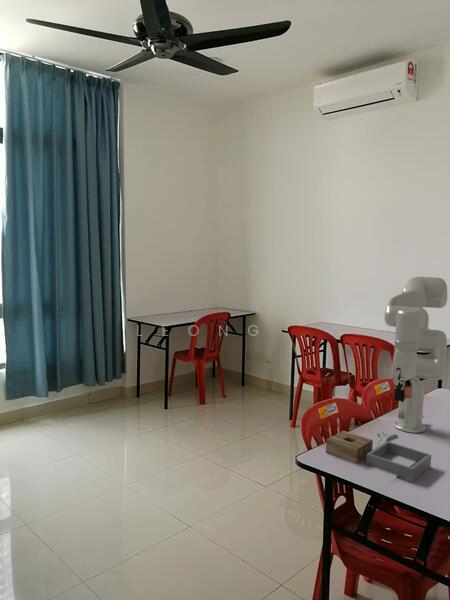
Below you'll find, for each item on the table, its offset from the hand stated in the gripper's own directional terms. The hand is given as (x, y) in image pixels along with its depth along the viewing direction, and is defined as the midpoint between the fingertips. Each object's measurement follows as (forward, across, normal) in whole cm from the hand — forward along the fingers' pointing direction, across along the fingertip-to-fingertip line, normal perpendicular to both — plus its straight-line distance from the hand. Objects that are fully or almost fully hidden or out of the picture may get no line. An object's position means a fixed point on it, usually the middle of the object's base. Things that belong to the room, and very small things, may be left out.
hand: (402, 398), depth 164 cm
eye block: (+25, +4, -16) cm, 30 cm away
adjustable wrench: (+25, -15, -14) cm, 32 cm away
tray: (+25, 0, 0) cm, 25 cm away
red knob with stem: (+7, 0, 0) cm, 7 cm away
